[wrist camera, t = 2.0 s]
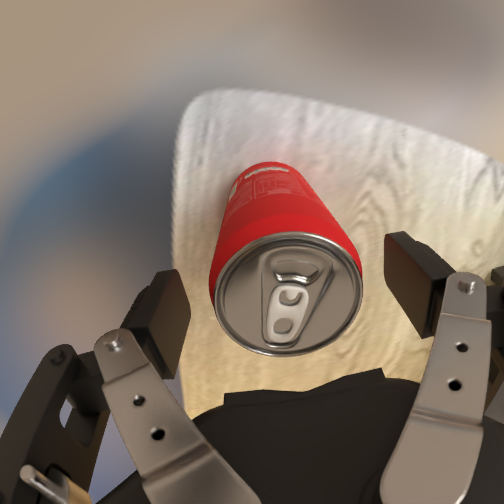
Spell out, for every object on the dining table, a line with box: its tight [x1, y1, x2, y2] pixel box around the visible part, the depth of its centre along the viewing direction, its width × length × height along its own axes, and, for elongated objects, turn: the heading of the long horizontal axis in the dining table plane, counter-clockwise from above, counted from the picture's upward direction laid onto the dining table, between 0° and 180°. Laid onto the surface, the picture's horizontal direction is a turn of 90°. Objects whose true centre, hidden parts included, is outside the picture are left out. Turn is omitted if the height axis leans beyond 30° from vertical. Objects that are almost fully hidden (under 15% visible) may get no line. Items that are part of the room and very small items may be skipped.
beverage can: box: [209, 162, 363, 357], centre depth 15 cm, size 5×5×12 cm
